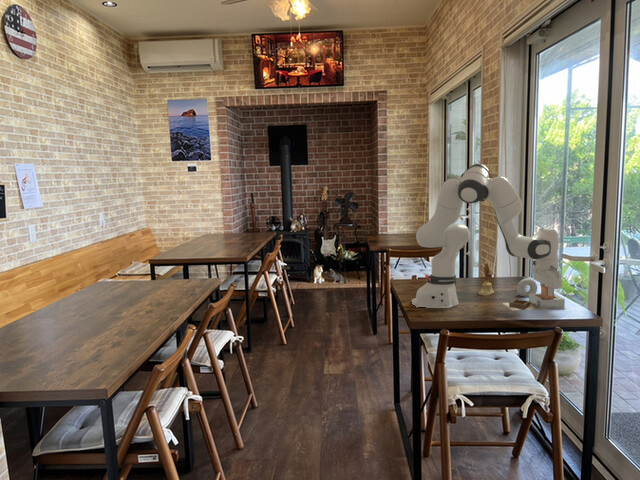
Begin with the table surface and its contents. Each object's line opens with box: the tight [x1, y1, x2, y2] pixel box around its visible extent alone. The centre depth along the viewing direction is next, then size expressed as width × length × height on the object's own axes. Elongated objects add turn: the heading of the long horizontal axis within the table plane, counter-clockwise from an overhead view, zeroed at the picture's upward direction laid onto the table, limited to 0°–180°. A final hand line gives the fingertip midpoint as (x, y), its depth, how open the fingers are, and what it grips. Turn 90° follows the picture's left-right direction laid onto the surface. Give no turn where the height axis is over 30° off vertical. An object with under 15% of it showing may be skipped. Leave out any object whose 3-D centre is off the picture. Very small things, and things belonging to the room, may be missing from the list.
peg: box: [540, 286, 555, 299], centre depth 210 cm, size 4×4×8 cm
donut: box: [516, 278, 538, 297], centre depth 229 cm, size 10×4×10 cm, turn 93°
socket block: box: [528, 292, 566, 310], centre depth 211 cm, size 11×11×4 cm
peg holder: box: [508, 298, 530, 309], centre depth 212 cm, size 7×7×2 cm
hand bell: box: [478, 263, 495, 297], centre depth 240 cm, size 8×8×16 cm
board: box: [501, 302, 563, 312], centre depth 212 cm, size 24×12×2 cm, turn 89°
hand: (546, 294), depth 211 cm, fingers closed on peg, 4 cm apart
